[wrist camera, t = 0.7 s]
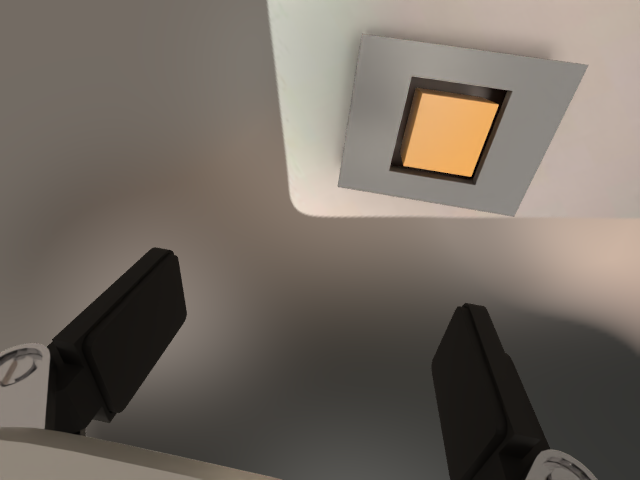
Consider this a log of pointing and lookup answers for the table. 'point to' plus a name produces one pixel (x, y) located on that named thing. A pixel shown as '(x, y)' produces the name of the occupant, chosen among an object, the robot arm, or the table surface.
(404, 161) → the button
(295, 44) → the table surface
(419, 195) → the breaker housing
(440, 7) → the table surface
